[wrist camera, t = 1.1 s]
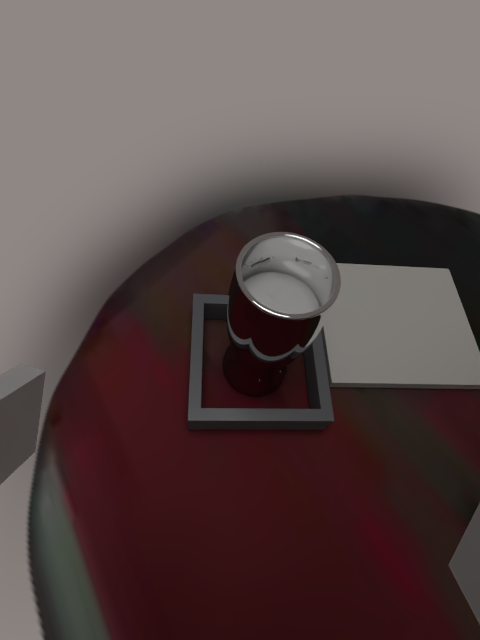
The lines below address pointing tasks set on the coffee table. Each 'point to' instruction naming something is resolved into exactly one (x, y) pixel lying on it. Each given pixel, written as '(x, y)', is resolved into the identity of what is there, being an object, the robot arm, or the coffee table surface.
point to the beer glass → (276, 308)
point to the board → (399, 331)
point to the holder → (255, 418)
